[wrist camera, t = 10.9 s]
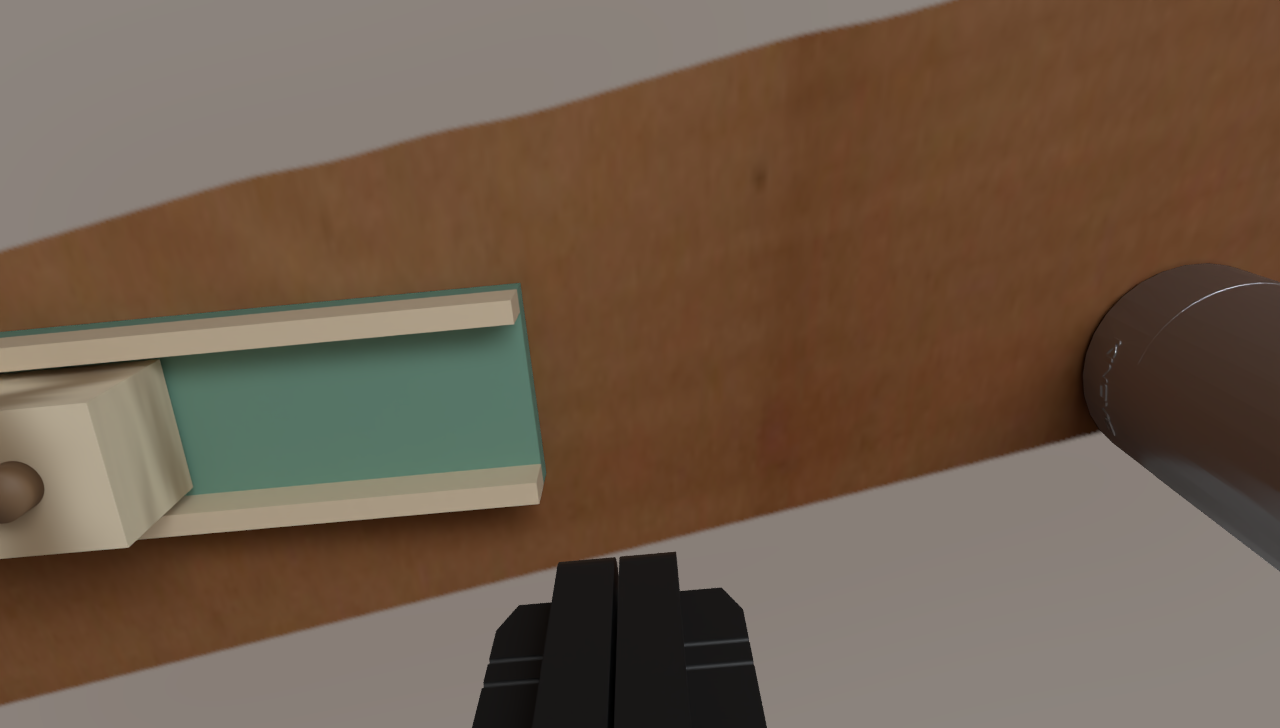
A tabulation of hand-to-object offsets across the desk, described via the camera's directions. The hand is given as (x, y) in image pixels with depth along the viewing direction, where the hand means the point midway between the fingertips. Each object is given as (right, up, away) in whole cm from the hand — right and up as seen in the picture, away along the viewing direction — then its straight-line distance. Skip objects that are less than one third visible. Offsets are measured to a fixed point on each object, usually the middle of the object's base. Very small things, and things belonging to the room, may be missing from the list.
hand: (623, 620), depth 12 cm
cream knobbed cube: (-23, 0, +29) cm, 37 cm away
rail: (-16, +1, +30) cm, 34 cm away
